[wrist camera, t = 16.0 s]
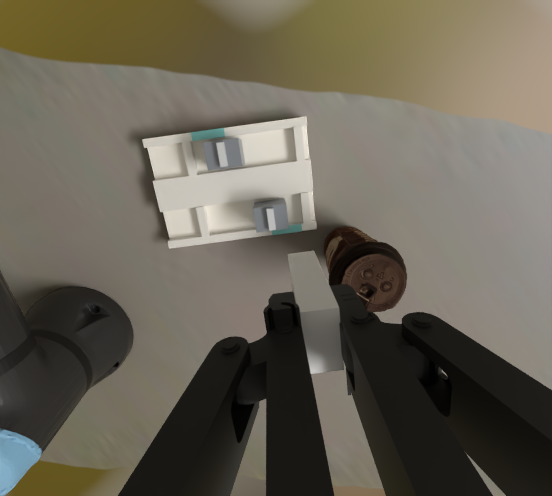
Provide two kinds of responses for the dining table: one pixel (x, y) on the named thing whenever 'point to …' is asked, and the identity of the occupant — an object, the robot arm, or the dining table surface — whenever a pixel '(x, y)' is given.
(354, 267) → the coffee cup
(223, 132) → the switch bank
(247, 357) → the robot arm
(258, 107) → the dining table surface
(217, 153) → the tab
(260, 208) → the tab
